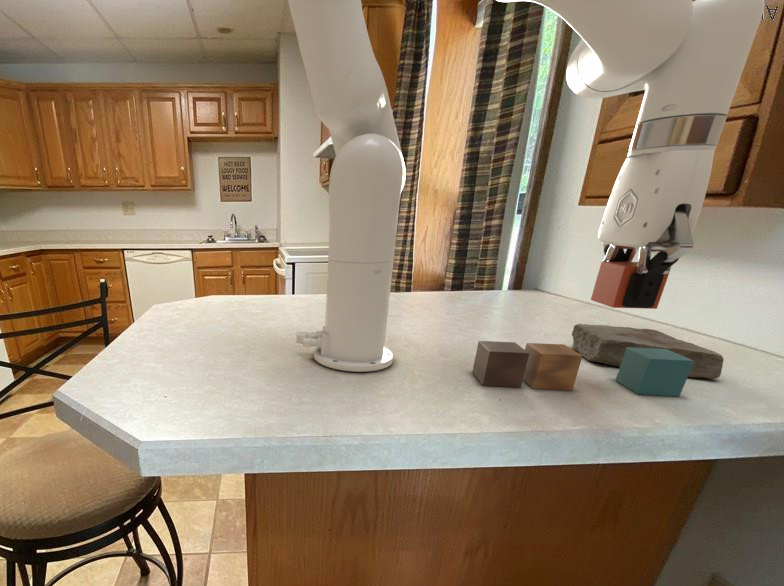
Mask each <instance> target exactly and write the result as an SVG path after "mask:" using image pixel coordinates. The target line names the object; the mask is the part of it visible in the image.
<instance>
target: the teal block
mask: <svg viewBox="0 0 784 586" xmlns="http://www.w3.org/2000/svg"><path fill="white" fill-rule="evenodd" d="M693 363H694V361H693V360H691V359H689V358H686V357H684V356H682V355H679V354H677V353H675V352H672V351H670V350H668V349H655V348H632V347H627V348H626V351H625V354H624V357H623V360H622V363H621V366H620V367H619V369H618V372H617V375H616V377H615V381H616V382H617V383H619V384H620V385H622V386H624V387H625V388H627V389H628V390H630V391H631V392H633V393H635V394H637V395H645V396H660V397H661V396H662V397H663V396H664V397H681V394H682V392H683V389H684V387H685V384H686V382H687V380H688V378H689V377H688V375H689V372H690V370H691V368H692V365H693Z"/></svg>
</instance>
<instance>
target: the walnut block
mask: <svg viewBox="0 0 784 586" xmlns="http://www.w3.org/2000/svg"><path fill="white" fill-rule="evenodd" d="M528 357H529V353H528V352H527V351H526V350H525V348H523V347H521V346H520V345H519V344H518V343H516V342H514V341H490V340H489V341H488V340H478V342H477V346H476V352H475V357H474V363H473V366H472V367H473V368H472V371H471V373H472V374H473V376H474V377H475V378H476V379H477V381H478V382H479V383H480V385H481V386H483V387H503V388H517V389H521V388H522V384H523V381H524V380H523V377H524V373H525V369H526V365H527V361H528Z"/></svg>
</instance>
